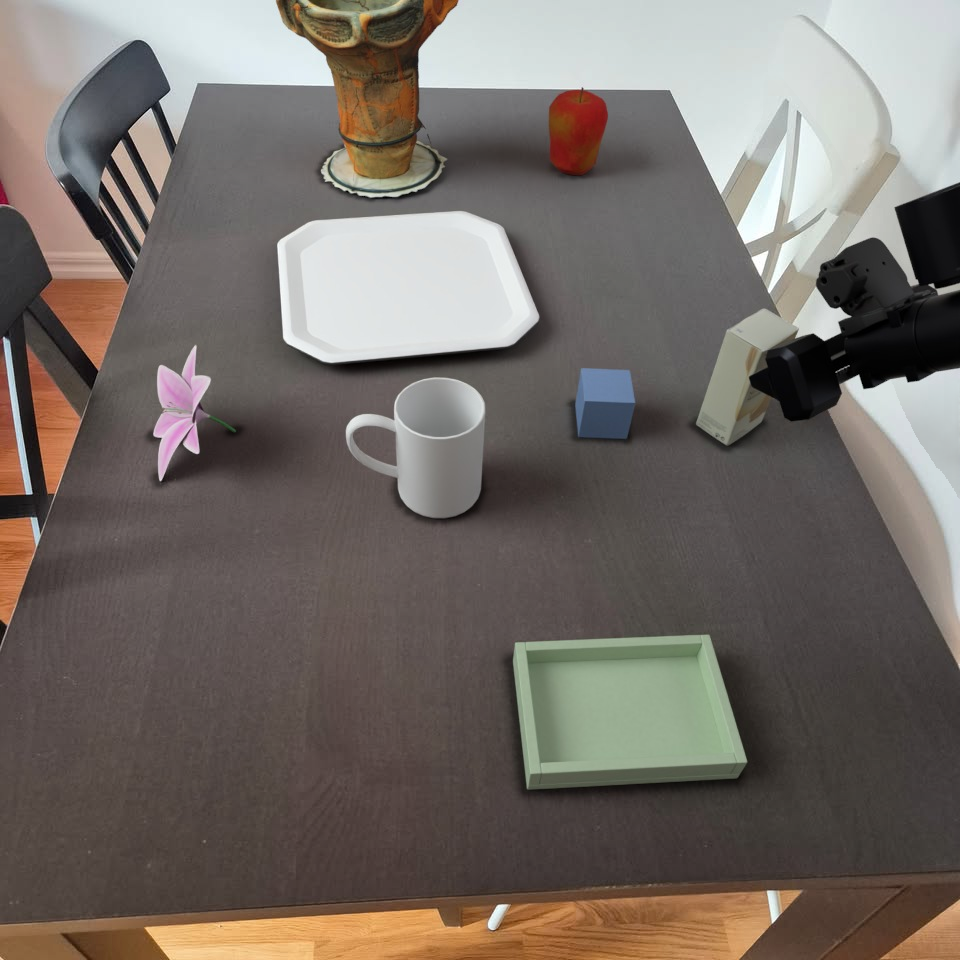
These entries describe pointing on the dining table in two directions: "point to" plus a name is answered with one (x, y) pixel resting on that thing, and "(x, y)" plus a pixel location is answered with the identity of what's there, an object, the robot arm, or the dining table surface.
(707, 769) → the sage tray
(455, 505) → the mug
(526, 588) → the dining table surface
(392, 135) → the decorative vase
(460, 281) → the plate
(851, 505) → the dining table surface
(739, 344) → the cosmetic box
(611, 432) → the blue block
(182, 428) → the lily
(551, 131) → the apple
